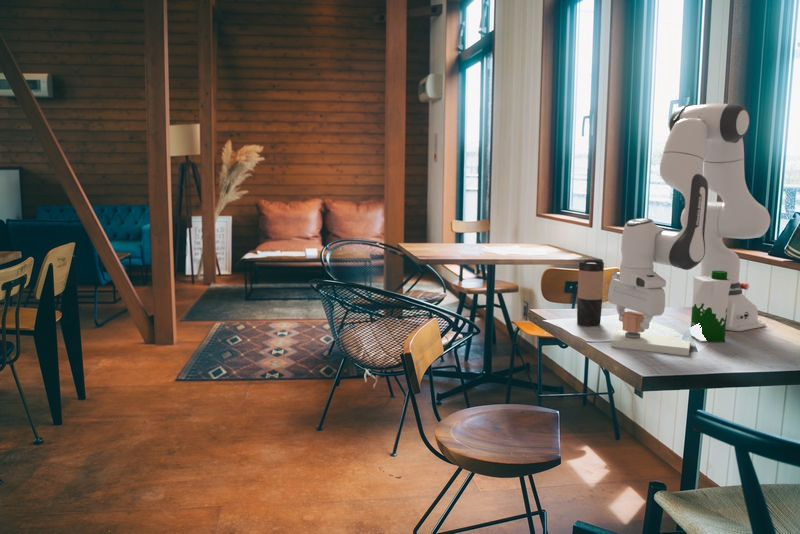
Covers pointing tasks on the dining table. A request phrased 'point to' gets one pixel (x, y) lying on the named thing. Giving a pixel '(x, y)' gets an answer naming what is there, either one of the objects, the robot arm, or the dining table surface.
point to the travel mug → (590, 293)
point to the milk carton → (711, 305)
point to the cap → (633, 321)
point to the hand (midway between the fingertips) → (633, 325)
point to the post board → (650, 342)
